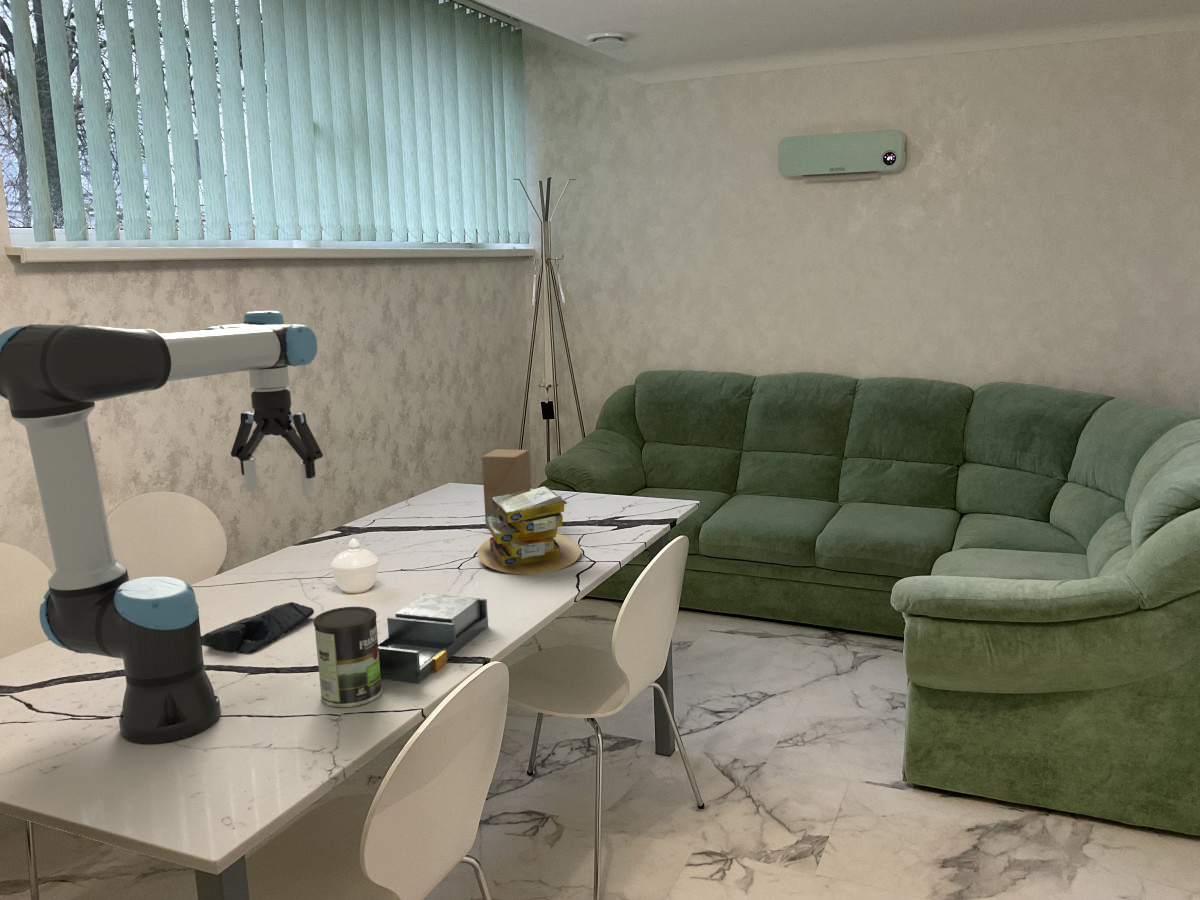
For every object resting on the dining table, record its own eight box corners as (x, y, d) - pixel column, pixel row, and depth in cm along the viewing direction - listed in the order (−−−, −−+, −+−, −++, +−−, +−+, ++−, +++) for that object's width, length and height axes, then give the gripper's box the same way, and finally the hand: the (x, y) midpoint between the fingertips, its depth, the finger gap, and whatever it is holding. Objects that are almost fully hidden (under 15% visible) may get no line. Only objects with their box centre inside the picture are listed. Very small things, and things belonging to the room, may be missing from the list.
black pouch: (327, 620, 208) (325, 598, 207) (245, 659, 189) (243, 635, 188) (273, 610, 215) (271, 589, 215) (189, 647, 196) (186, 624, 196)
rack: (422, 683, 175) (419, 650, 173) (349, 674, 179) (346, 642, 178) (491, 626, 200) (489, 596, 199) (426, 619, 205) (424, 591, 204)
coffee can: (392, 683, 175) (386, 607, 172) (367, 709, 165) (360, 629, 163) (337, 680, 177) (330, 604, 174) (309, 706, 167) (302, 626, 165)
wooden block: (485, 527, 273) (481, 456, 269) (499, 518, 283) (495, 448, 279) (519, 529, 270) (515, 457, 266) (532, 519, 280) (529, 449, 276)
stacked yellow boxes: (588, 569, 235) (586, 499, 232) (482, 578, 230) (478, 508, 227) (570, 540, 259) (568, 477, 255) (474, 549, 254) (470, 484, 251)
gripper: (334, 387, 200) (343, 490, 204) (230, 385, 208) (240, 485, 212) (312, 392, 193) (321, 499, 197) (206, 390, 201) (216, 493, 205)
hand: (279, 492), depth 204 cm, fingers open, 13 cm apart
